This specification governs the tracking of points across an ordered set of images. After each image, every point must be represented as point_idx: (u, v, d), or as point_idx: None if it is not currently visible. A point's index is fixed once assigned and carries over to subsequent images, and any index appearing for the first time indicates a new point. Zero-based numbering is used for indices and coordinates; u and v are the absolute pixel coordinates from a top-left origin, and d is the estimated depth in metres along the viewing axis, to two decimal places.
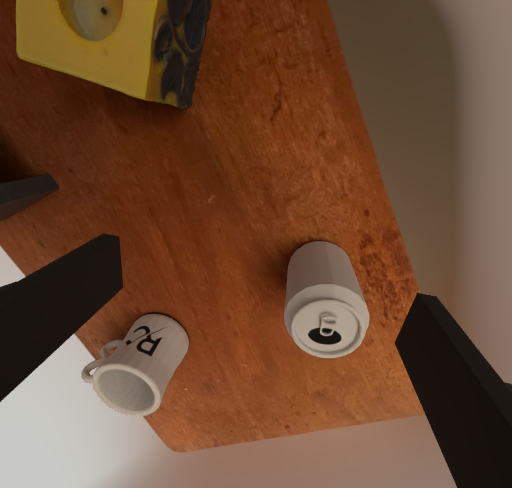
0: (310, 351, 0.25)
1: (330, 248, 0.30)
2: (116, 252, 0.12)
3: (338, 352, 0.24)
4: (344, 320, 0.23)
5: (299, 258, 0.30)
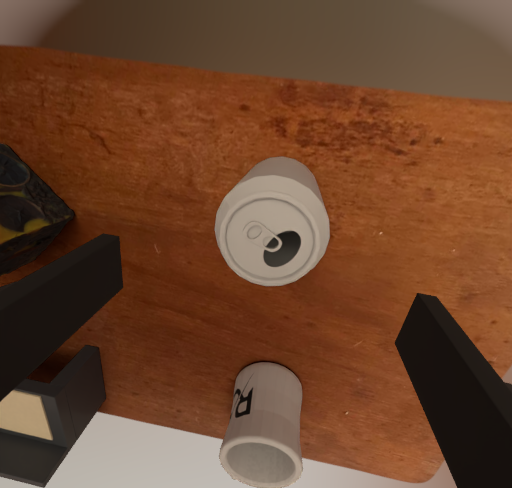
0: (291, 278, 0.17)
1: None
2: (116, 252, 0.12)
3: (313, 248, 0.17)
4: (269, 214, 0.16)
5: None
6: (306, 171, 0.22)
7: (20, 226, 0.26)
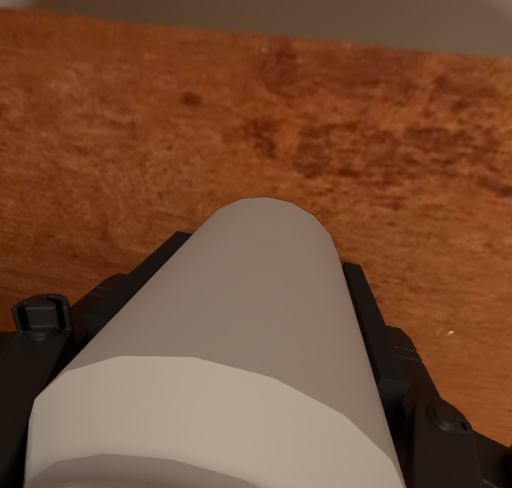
0: None
1: (197, 230, 0.12)
2: None
3: None
4: None
5: None
6: (317, 243, 0.10)
7: None
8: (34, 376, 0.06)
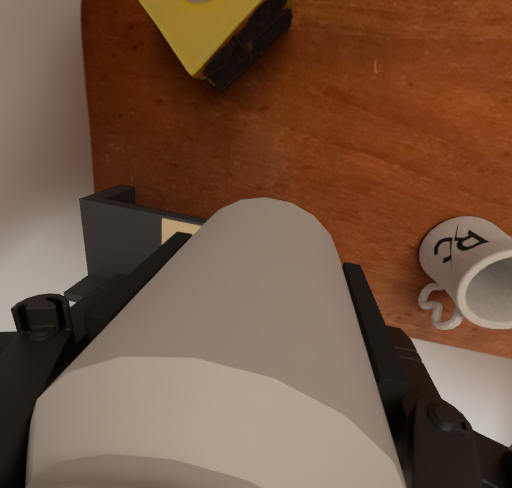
0: None
1: (198, 230, 0.12)
2: None
3: None
4: None
5: None
6: (317, 243, 0.10)
7: None
8: (34, 376, 0.06)
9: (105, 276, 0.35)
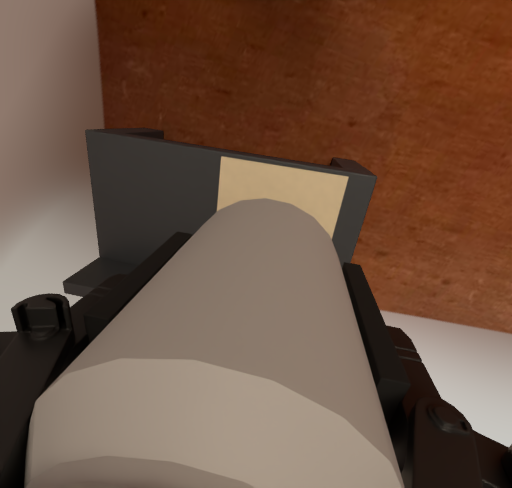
0: None
1: (197, 231, 0.12)
2: None
3: None
4: None
5: None
6: (317, 244, 0.10)
7: None
8: (34, 376, 0.06)
9: (125, 258, 0.23)
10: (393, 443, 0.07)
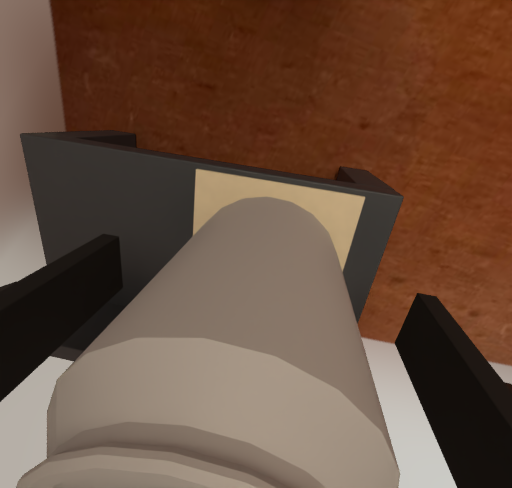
0: None
1: None
2: (116, 252, 0.12)
3: None
4: None
5: None
6: (316, 240, 0.10)
7: None
8: None
9: None
10: None
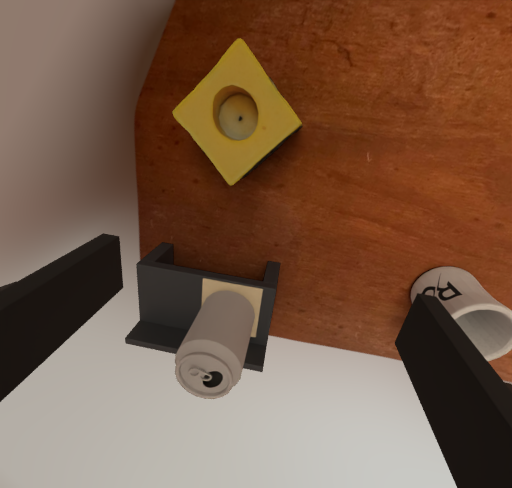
0: (218, 395, 0.29)
1: (205, 303, 0.36)
2: (116, 252, 0.12)
3: (229, 381, 0.29)
4: (203, 362, 0.28)
5: None
6: (238, 310, 0.34)
7: None
8: None
9: (154, 321, 0.43)
10: None
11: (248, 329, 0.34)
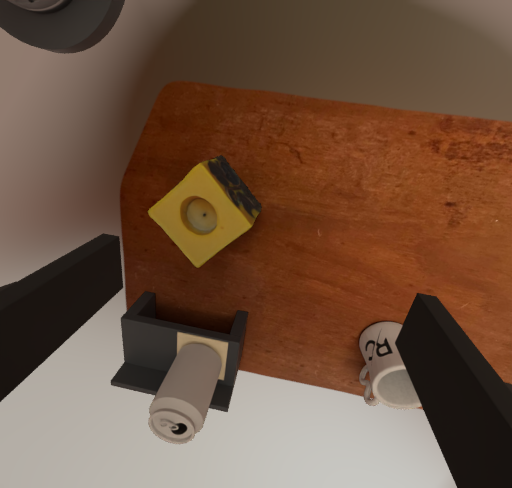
0: (184, 441, 0.36)
1: (178, 355, 0.43)
2: (116, 252, 0.12)
3: (192, 431, 0.35)
4: (171, 416, 0.35)
5: None
6: (205, 365, 0.41)
7: (251, 213, 0.37)
8: None
9: (136, 363, 0.49)
10: None
11: (213, 381, 0.41)
